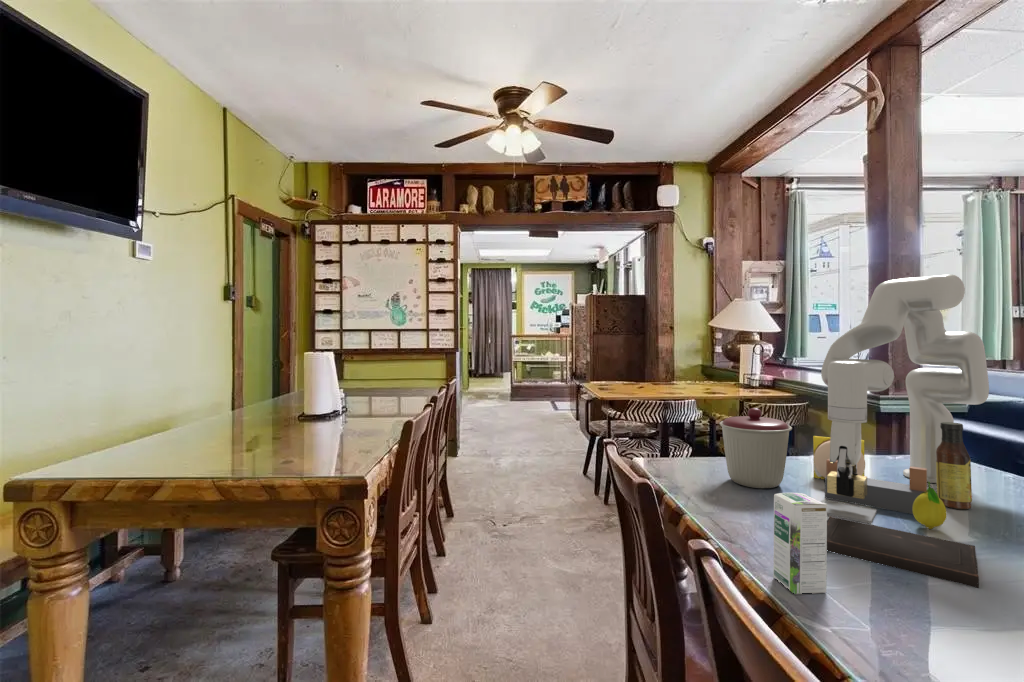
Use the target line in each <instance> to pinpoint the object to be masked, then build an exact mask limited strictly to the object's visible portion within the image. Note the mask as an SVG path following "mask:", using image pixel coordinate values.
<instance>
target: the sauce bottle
mask: <svg viewBox="0 0 1024 682" xmlns="http://www.w3.org/2000/svg"><path fill="white" fill-rule="evenodd" d="M940 424H941V425H940V428H941V429H942V438H941V439H942V442H941V444H940V445H939V446H938V448H937V450H936V459H937V460H936V479H937V483H936V493H937V495H938V498H940V499H941V500H942V502H943V503H944V505H945V508H950V509H955V510H968V509H971V508H972V501H973V492H972V490H973V489H972V469H971V468H972V467H971V466H972V465H971V464H972V463H971V462H972V461H971V456H970V455H969V452H968V450H967V448H966V446H965V444H964V438H963V431H964V425H963V423H960V422H954V423H952V422H942V423H940Z"/></svg>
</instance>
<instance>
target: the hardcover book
mask: <svg viewBox="0 0 1024 682" xmlns="http://www.w3.org/2000/svg"><path fill="white" fill-rule="evenodd" d="M827 550H828V551H831V552H830V553H832V552H835V553H834V554H836V553H838V555H841V554H842V556H845V555H846V557H849V556H851V557H850V558H853V557H854V559H857V558H858V559H857V560H861V559H863V560H862V561H865V560H866V561H867V562H869V561H871V563H873V562H874V564H877V563H879V564H878V565H882V564H883V565H882V566H886V565H887V566H886V567H889V568H895V569H899V570H902V571H906V572H910V573H915V574H917V575H918V574H919V575H923V576H928V577H931V578H936V579H938V580H939V579H940V580H944V581H948V582H952V583H956V584H960V585H964V586H968V587H973V588H976V589H979V588H980V582H979V581H980V576H979V568H978V561H977V560H978V559H977V552H976V551H977V550H976V546H975V544H974V545H973V544H967V543H962V542H960V541H959V542H958V541H953V540H948V539H943V538H939V537H934V536H933V537H932V536H929V535H925V534H924V535H923V534H920V533H919V534H918V533H914V532H908V531H904V530H898V529H893V528H889V527H883V526H878V525H874V524H868V523H864V522H859V521H854V520H849V519H844V518H839V517H835V516H828V517H827ZM828 551H827V552H828ZM866 561H865V562H866Z"/></svg>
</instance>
